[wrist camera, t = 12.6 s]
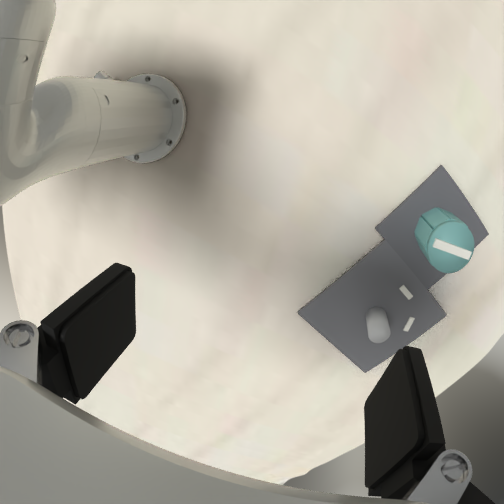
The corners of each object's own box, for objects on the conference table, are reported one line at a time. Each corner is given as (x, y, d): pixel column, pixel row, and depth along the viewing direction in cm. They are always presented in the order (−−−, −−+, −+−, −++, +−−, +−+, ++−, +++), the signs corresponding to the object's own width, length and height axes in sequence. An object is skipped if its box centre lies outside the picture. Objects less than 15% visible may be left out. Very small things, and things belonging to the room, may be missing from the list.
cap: (409, 245, 37) (421, 266, 31) (425, 202, 34) (441, 216, 29) (446, 258, 36) (462, 279, 30) (462, 217, 34) (482, 233, 28)
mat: (374, 227, 38) (375, 228, 37) (440, 164, 32) (442, 165, 32) (426, 288, 39) (427, 289, 38) (487, 232, 34) (488, 234, 33)
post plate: (297, 311, 45) (294, 331, 40) (384, 238, 38) (391, 253, 33) (364, 370, 46) (366, 392, 42) (445, 313, 39) (455, 332, 35)
